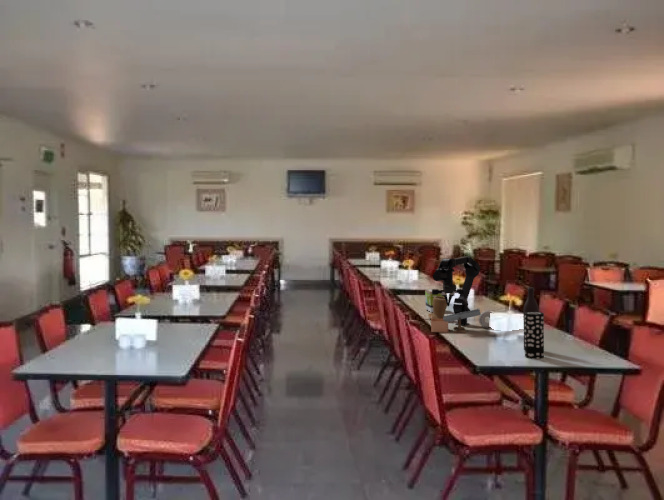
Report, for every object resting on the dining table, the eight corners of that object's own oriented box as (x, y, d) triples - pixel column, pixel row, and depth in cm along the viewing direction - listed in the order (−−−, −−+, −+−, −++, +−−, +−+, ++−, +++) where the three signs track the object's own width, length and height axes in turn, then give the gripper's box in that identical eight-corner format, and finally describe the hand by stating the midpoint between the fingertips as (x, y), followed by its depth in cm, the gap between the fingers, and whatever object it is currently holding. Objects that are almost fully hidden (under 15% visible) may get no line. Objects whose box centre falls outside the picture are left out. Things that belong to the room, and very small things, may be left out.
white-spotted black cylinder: (522, 355, 309) (521, 312, 309) (539, 354, 310) (539, 311, 309) (528, 359, 301) (528, 314, 300) (546, 358, 302) (546, 314, 301)
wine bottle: (522, 349, 325) (521, 287, 323) (536, 348, 324) (536, 286, 323) (525, 351, 317) (525, 288, 316) (541, 351, 317) (540, 288, 316)
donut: (494, 327, 392) (494, 310, 392) (496, 327, 389) (496, 310, 389) (477, 327, 391) (477, 310, 390) (480, 328, 387) (480, 311, 387)
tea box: (425, 310, 473) (424, 289, 472) (439, 309, 474) (438, 288, 473) (430, 313, 458) (430, 291, 457) (444, 312, 459) (444, 290, 459)
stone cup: (449, 321, 418) (449, 297, 417) (430, 321, 419) (429, 297, 418) (446, 318, 433) (446, 294, 432) (427, 318, 434) (427, 295, 433)
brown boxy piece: (447, 329, 388) (447, 315, 388) (448, 332, 378) (448, 318, 378) (431, 329, 390) (431, 315, 390) (431, 332, 379) (430, 318, 379)
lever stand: (464, 328, 389) (464, 314, 389) (465, 332, 374) (465, 318, 374) (453, 328, 390) (453, 314, 390) (454, 332, 375) (454, 318, 375)
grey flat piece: (478, 311, 392) (477, 306, 392) (480, 315, 376) (479, 309, 376) (443, 318, 395) (442, 313, 395) (444, 322, 379) (442, 317, 379)
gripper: (432, 281, 387) (432, 308, 388) (465, 280, 385) (465, 307, 386) (431, 279, 398) (432, 305, 399) (463, 279, 396) (463, 305, 397)
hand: (448, 306), depth 395 cm, fingers closed
